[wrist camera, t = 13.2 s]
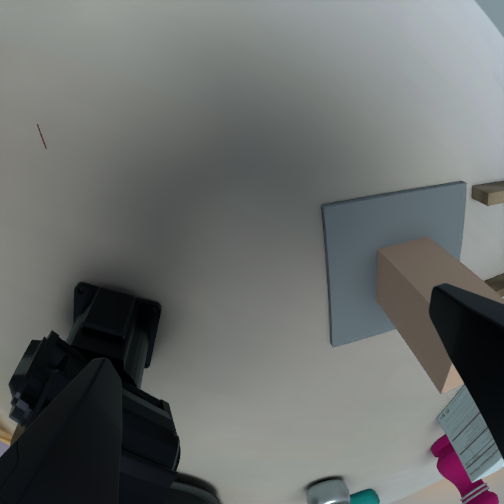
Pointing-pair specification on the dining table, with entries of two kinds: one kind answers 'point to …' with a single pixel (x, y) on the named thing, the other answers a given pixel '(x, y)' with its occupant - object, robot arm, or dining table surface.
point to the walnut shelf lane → (489, 196)
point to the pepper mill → (460, 475)
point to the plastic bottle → (329, 493)
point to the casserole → (188, 495)
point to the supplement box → (470, 436)
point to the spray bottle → (365, 497)
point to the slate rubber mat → (379, 236)
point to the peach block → (423, 300)
